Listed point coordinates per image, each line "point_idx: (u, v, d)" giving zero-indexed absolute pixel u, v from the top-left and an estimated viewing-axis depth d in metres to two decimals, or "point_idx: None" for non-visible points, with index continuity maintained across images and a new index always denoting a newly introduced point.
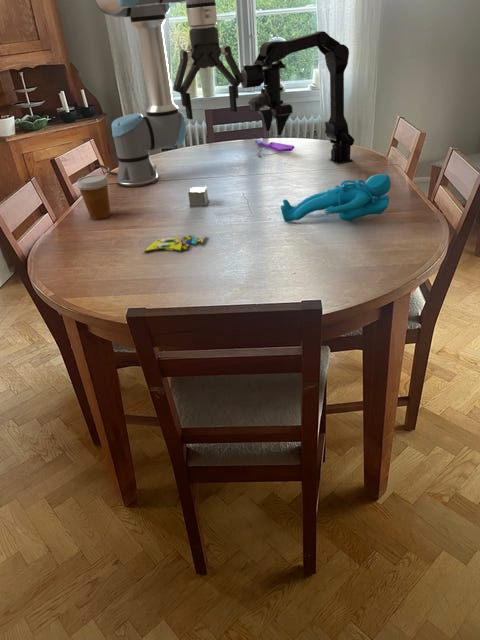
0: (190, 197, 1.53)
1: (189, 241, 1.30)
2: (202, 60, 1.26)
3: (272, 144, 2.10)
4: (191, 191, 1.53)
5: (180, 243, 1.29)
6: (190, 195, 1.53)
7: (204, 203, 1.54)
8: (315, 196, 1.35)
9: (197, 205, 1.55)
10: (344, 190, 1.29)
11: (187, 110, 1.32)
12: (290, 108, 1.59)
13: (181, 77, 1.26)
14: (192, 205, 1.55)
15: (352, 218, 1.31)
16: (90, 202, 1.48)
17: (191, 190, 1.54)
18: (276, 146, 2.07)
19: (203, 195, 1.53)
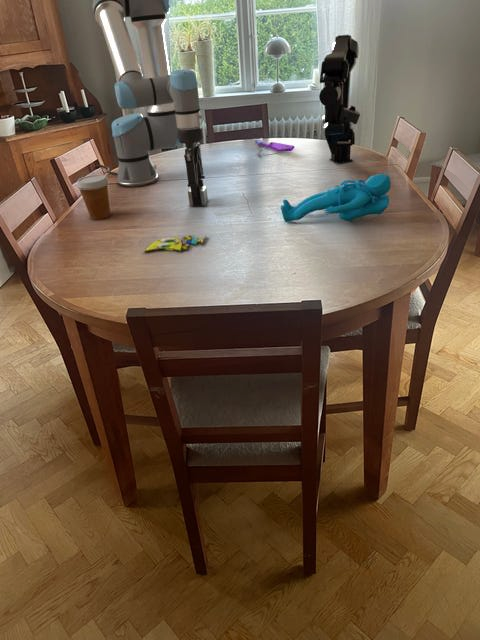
0: (190, 196, 1.53)
1: (189, 241, 1.30)
2: (197, 154, 1.47)
3: (272, 144, 2.10)
4: None
5: (180, 243, 1.29)
6: (190, 194, 1.53)
7: (204, 202, 1.54)
8: (315, 196, 1.35)
9: None
10: (344, 190, 1.29)
11: (196, 199, 1.53)
12: None
13: (195, 174, 1.46)
14: (192, 204, 1.55)
15: (352, 218, 1.31)
16: (90, 202, 1.48)
17: None
18: (276, 146, 2.07)
19: (203, 194, 1.53)
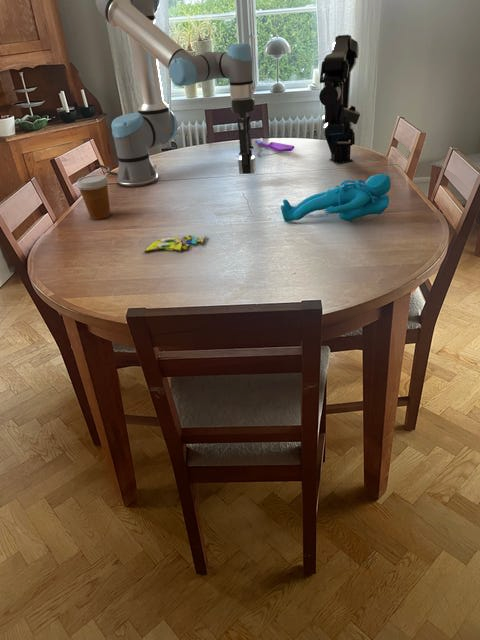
0: (240, 164, 1.64)
1: (189, 241, 1.30)
2: (249, 123, 1.57)
3: (272, 144, 2.10)
4: (241, 159, 1.64)
5: (180, 243, 1.29)
6: (240, 162, 1.63)
7: (253, 170, 1.64)
8: (315, 196, 1.35)
9: None
10: (344, 190, 1.29)
11: (245, 167, 1.63)
12: None
13: (247, 142, 1.57)
14: (241, 172, 1.65)
15: (352, 218, 1.31)
16: (90, 202, 1.48)
17: (241, 158, 1.64)
18: (276, 146, 2.07)
19: (252, 162, 1.63)
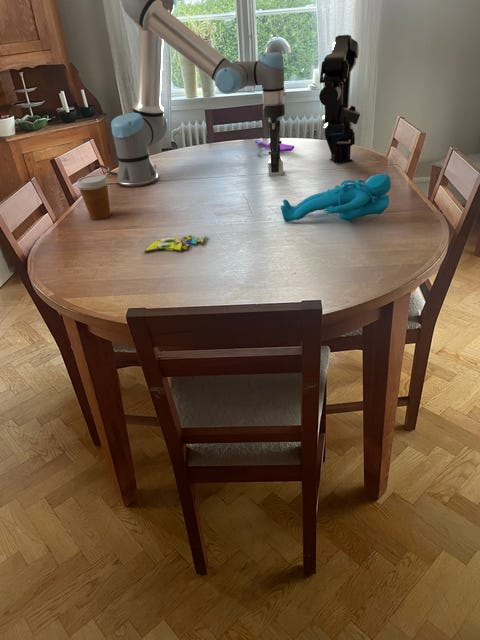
0: (269, 167, 1.75)
1: (189, 241, 1.30)
2: (279, 127, 1.68)
3: None
4: (270, 162, 1.75)
5: (180, 243, 1.29)
6: (269, 165, 1.75)
7: (281, 172, 1.76)
8: (315, 196, 1.35)
9: (275, 174, 1.76)
10: (344, 190, 1.29)
11: (274, 166, 1.71)
12: None
13: (277, 142, 1.65)
14: (270, 174, 1.76)
15: (352, 218, 1.31)
16: (90, 202, 1.48)
17: (270, 161, 1.76)
18: None
19: (281, 165, 1.74)
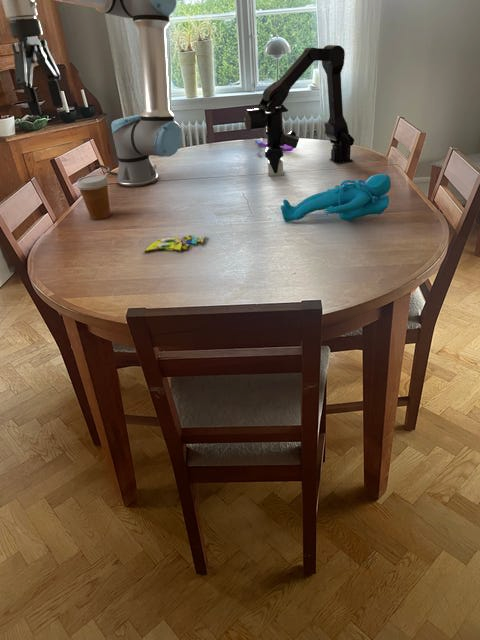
0: (269, 167, 1.75)
1: (189, 241, 1.30)
2: (35, 52, 1.22)
3: None
4: None
5: (180, 243, 1.29)
6: (269, 165, 1.75)
7: (281, 172, 1.76)
8: (315, 196, 1.35)
9: (275, 174, 1.76)
10: (344, 190, 1.29)
11: (33, 106, 1.24)
12: None
13: (25, 70, 1.18)
14: (270, 174, 1.76)
15: (352, 218, 1.31)
16: (90, 202, 1.48)
17: None
18: None
19: (281, 165, 1.74)
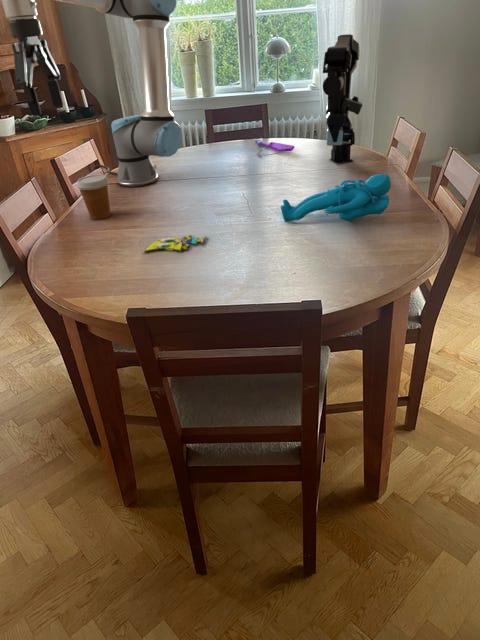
0: (328, 135, 1.62)
1: (189, 241, 1.30)
2: (35, 52, 1.22)
3: (272, 144, 2.10)
4: None
5: (180, 243, 1.29)
6: (329, 133, 1.62)
7: (341, 141, 1.63)
8: (315, 196, 1.35)
9: (334, 143, 1.64)
10: (344, 190, 1.29)
11: (33, 106, 1.24)
12: None
13: (25, 70, 1.18)
14: (329, 143, 1.64)
15: (352, 218, 1.31)
16: (90, 202, 1.48)
17: None
18: (276, 146, 2.07)
19: (341, 133, 1.62)
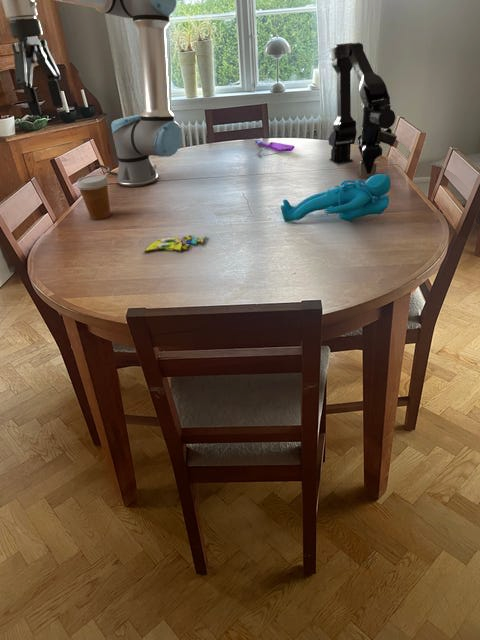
0: (362, 168, 1.65)
1: (189, 241, 1.30)
2: (35, 52, 1.22)
3: (272, 144, 2.10)
4: (363, 163, 1.64)
5: (180, 243, 1.29)
6: (362, 167, 1.64)
7: (374, 174, 1.65)
8: (315, 196, 1.35)
9: (367, 176, 1.66)
10: (344, 190, 1.29)
11: (33, 106, 1.24)
12: None
13: (25, 70, 1.18)
14: (362, 176, 1.66)
15: (352, 218, 1.31)
16: (90, 202, 1.48)
17: (362, 162, 1.65)
18: (276, 146, 2.07)
19: (375, 166, 1.64)
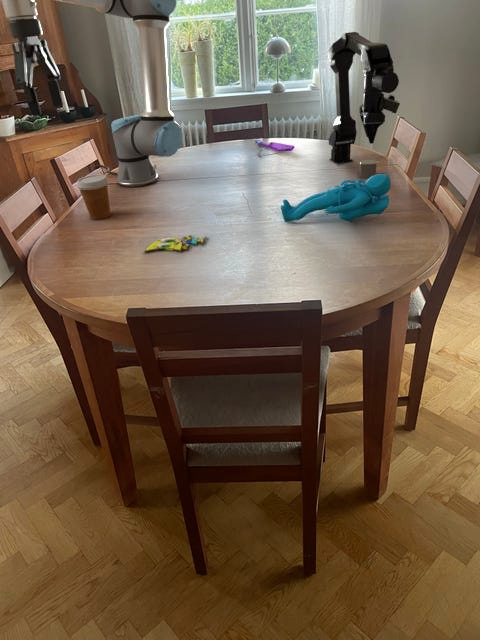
0: (362, 168, 1.65)
1: (189, 241, 1.30)
2: (35, 52, 1.22)
3: (272, 144, 2.10)
4: (363, 163, 1.64)
5: (180, 243, 1.29)
6: (362, 167, 1.64)
7: (374, 174, 1.65)
8: (315, 196, 1.35)
9: (367, 176, 1.66)
10: (344, 190, 1.29)
11: (33, 106, 1.24)
12: None
13: (25, 70, 1.18)
14: (362, 176, 1.66)
15: (352, 218, 1.31)
16: (90, 202, 1.48)
17: (362, 162, 1.65)
18: (276, 146, 2.07)
19: (375, 166, 1.64)
